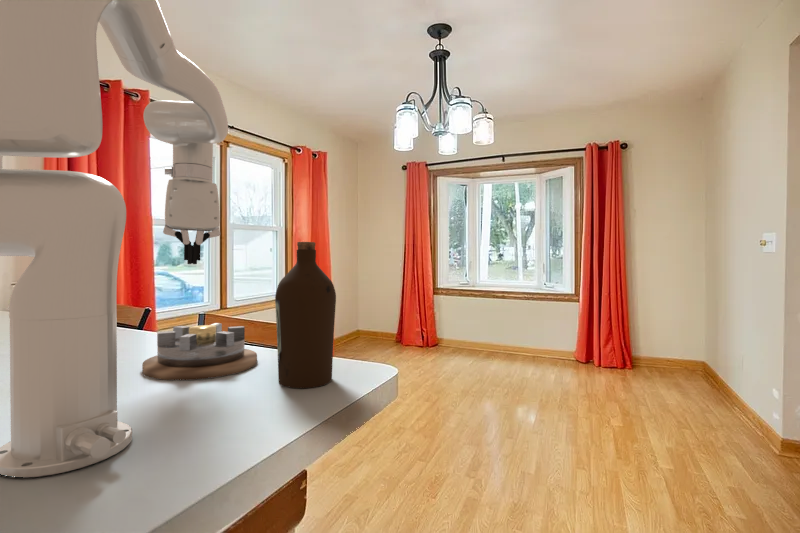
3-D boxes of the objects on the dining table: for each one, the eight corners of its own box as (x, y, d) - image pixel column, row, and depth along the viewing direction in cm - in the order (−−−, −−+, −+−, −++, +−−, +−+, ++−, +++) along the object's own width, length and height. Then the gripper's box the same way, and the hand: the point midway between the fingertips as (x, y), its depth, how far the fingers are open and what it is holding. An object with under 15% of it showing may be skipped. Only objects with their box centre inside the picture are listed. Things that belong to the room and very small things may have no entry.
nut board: (278, 360, 92) (278, 353, 92) (190, 386, 73) (190, 377, 73) (211, 349, 102) (211, 343, 102) (118, 370, 83) (118, 362, 83)
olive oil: (338, 373, 83) (339, 243, 82) (331, 390, 72) (332, 241, 72) (282, 372, 83) (283, 242, 82) (267, 390, 72) (268, 240, 71)
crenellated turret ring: (228, 366, 80) (228, 334, 80) (140, 366, 79) (140, 334, 79) (254, 348, 96) (254, 321, 96) (180, 348, 95) (180, 321, 95)
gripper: (151, 168, 83) (150, 263, 83) (233, 177, 90) (232, 264, 90) (151, 175, 89) (150, 263, 89) (228, 183, 97) (227, 264, 97)
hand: (192, 263), depth 90 cm, fingers closed
